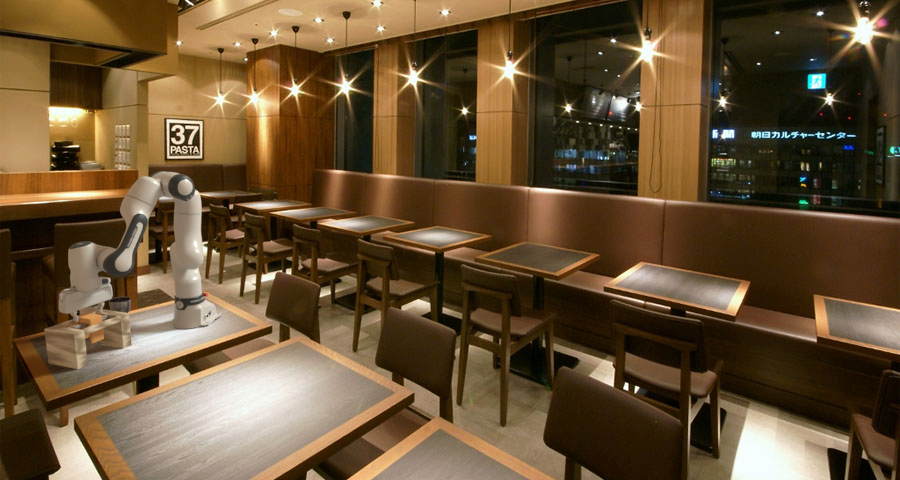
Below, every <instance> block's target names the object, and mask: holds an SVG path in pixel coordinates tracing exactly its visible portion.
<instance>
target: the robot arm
mask: <svg viewBox="0 0 900 480" xmlns="http://www.w3.org/2000/svg"><path fill="white" fill-rule="evenodd" d="M162 197H165V198H168V199H169V198H172V199H173V202H174V209H173V232H174V233H173V234H174V242H173V243H171V245H170V246H169V256H170V264H171V270H172V275H173V281H174V294H175V295H174V298H173V299H174V300H173V301H174V312H173V313H174V314H173V319H172V322H173V324H172V325H173V327H174V328H175V329H182V330H184V329H195V328H194V327H196V328H200V327H199V326H205V327H207V326H206V325H208V324H209V323H211V322H212V321H213V320H214V319H216V318H217V317H219V316H220V315H221V314H222V313H221V312H219V311H217V307H216V305H215V304H214V303H213V302H211V301H209V300H207V299H206V298H205V297H209V295H210V293H209V292H206V291H204V292H203V291H202V290H203V288H202V276H201V272H200V267H201V266H202V265H203V264H204V259H205V257H204V256H205V255H204V250H203V247H204V246H203V237H202V216H203V215H202V211H203V210H202V209H203V208H202V206H203V205H202V198H201V194H200V192H199V191H198V190H197V189H196V188H195V184H194V181H193V179H191V177H189V176H188V175H186V174H183V173H179V172H176V171H175V172H173V171H165V170H164V171H163V170H160V171H156V172H154V173H151V174H150V175H149V176H145V175H144V176H140V177H139V178H138V179H136V180H135V181H134V183H133V184H132V185H131V186H130V188H129V189H128V191H127V193H126V194H125V196H124V198H123V199H122V201H121V204H120V207H119V208H120V209H119V212H120V215H121V217H122V218H123V221H125V225H126V228H125V231H124V233H123V235H122V237H121V241H120V242H119V245H118V246H117V248H114V247H111V246H105V245H100V244H96V243H95V242H92V241H89V240H88V241H87V240H84V241H79V242H78V241H77V242H76V243H73V244H72V245H70V246H69V247H68V254H67V256H68V257H67V258H68V259H67V262H68V268H69V270H70V275H69V279H70V280H69V281H70V287H68V288H64V289H62V290H61V291H60V292H59V294H58V311H59V312H60V313H61V314H64V315H65V314H66V315H67V314H69V315H70V316H71V317H72V319H73V320H74V321H75V322H77V321H80V320H81V319H80V316H79V315H77V314H78V311H80V309H83V308H86V307H89V306H92V305H95V304H98V307H97V309H95V310H96V313H97V314H100V313H102V309H104V306H105V302H107V301H109V300H110V299H112V298H113V295H114V294H113V286H112V284H111V282H112V281H111V277H105V276H99V272H104V273H107V274H108V275H109V276H112V277H115V278H120V277H123V276H127V275H129V273H131V271H132V270H133V269H134V267H135V261H136V254H137V251H138V249H139V246H140V244H141V243H142V242H141V241H142V240H143V237H144V235H145V232H146V229H147V226H148V222H149V219H150V217H151V214H152V212H153V210H154V209H155V207H156V205H157V202H158V201H159V200H160V199H161V198H162ZM217 313H218V314H217ZM211 324H212V323H211ZM208 326H209V325H208Z"/></svg>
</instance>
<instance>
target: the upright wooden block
mask: <svg viewBox="0 0 900 480" xmlns="http://www.w3.org/2000/svg"><path fill="white" fill-rule="evenodd" d="M78 316H80V319H81V320H80V321H77V322H75V323H76V325H78V324H81V323H87V324H89V326H87V327H90V326H92V325H95V324H98V323H100V322H102V315H98V314H92V313H84V314H81V315H80V314H79V315H78ZM87 327H85V328H87ZM82 329H84V328H82ZM82 329H79V330H82ZM88 338H89V339H90V340H89V341H90V344H94V343H95V344H96V342H97V341H100V340H102V339H104V333H103V328H102V329H100V330H97V331H94V332H92V333H89V334H87V335H85V340H86V339H88Z"/></svg>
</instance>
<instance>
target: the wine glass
mask: <svg viewBox="0 0 900 480" xmlns="http://www.w3.org/2000/svg"><path fill="white" fill-rule="evenodd" d="M108 303H109V304H108V305H109V308H110V310H111V311H118V312H124V313H129V312H130V310H131V308H132V299H131V297H129V296H116V297H112V298H111V299H110V300H108ZM130 331H131V332H132V331H133V329H132V328H130Z"/></svg>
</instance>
